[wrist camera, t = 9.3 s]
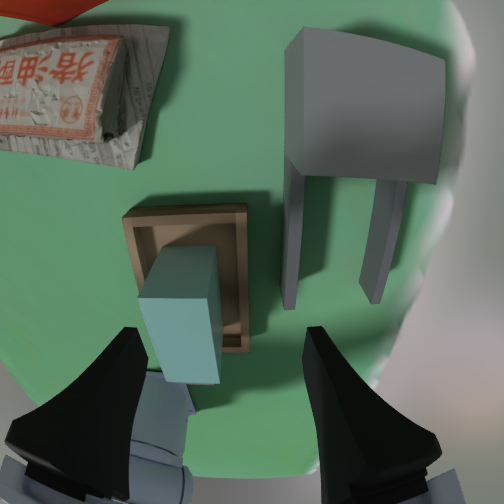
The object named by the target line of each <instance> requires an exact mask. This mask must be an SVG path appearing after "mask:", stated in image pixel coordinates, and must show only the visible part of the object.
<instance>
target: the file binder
mask: <svg viewBox="0 0 504 504" xmlns="http://www.w3.org/2000/svg"><path fill="white" fill-rule="evenodd" d="M106 1H108V0H0V16H4V17H11V18H16V19H22V20H27V21H32V22H37V23H41V24H45V25H49V26H53V27H57V26H59V25H60V24H64V23H66V22H67V21H69V20H71V19H73V18H74V17H76V16H78V15H80V14H82V13H84V12H86V11H87V10H89V9H91V8H93V7H95V6H97V5H100V4H102V3H104V2H106Z"/></svg>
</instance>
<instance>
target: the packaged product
mask: <svg viewBox="0 0 504 504" xmlns="http://www.w3.org/2000/svg"><path fill="white" fill-rule="evenodd" d="M169 34H170V28H169V27H168V26H152V25H141V24H123V25H90V26H77V27H68V28H58V29H52V30H48V31H45V32H36V33H30V34H25V35H21V36H18V37H13V38H8V39H4V40H1V41H0V150H3V151H13V152H21V153H26V154H36V155H44V156H52V157H58V158H66V159H71V160H76V161H82V162H89V163H94V164H100V165H106V166H113V167H118V168H123V169H127V170H134V169H135V168H136V166H137V165H138V161H139V158H140V153H141V148H142V143H143V138H144V133H145V128H146V123H147V118H148V113H149V109H150V106H151V102H152V98H153V94H154V91H155V87H156V84H157V80H158V77H159V74H160V70H161V67H162V64H163V61H164V57H165V53H166V48H167V44H168V39H169Z"/></svg>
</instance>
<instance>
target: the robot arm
mask: <svg viewBox="0 0 504 504" xmlns="http://www.w3.org/2000/svg"><path fill="white" fill-rule="evenodd" d="M302 363H303V371H304V379H305V383H306V388H307V392H308V396H309V400H310V404H311V408H312V412H313V416H314V420H315V426H316V431H317V440H318V449H319V460H320V473H321V499H322V500H321V501H322V504H466V503H465V500H464V497H463V493H462V490H461V486H460V483H459V480H458V477H457V474H456V471H455V469H452V470H450V471H447V472H446V473H443V474H441V475H439V476H436V477H434V478H432V479H430V480H428V481H426V479H425V476H426V475H427V474H428V473H427V470H426V467H427V466H429V465H430V464H432V463H433V462H434V461H436V460H437V459H438V458H439V457H440V456H441V455H442V450H441V447H440V444H439V442H438V440H437V438H436V436H435V434H434V433H431V432H430V431H428V430H426V429H424V428H423V427H421V426H419V425H417V424H415V423H414V422H412V421H411V420H409V419H408V418H406V417H405V416H403V415H402V414H400V413H399V412H398V411H397V410H395V409H394V408H393V407H391V406H390V405H389V404H388V403H386V402H385V401H384V400H383V399H382V398H381V397H380V396H379V395H377V394H376V393H375V392H374V391H373V390H372V389H371V388H370V387H369V386H368V385H367V384H366V383H365V382H364V381H363V379H362V378H361V377H360V376H359V375H358V374H357V373H356V372H355V370H354V369H353V368H352V367H351V366H350V364H349V363H348V362H347V360H346V359H345V358H344V357H343V355H342V354H341V353H340V351H339V350H338V349H337V347H336V346H335V344H334V343H333V341H332V340H331V339H330V337H329V336H328V334H327V332H326V331H325V329H324V328H323V327H322V326H316V327H307V332H306V338H305V344H304V350H303V356H302ZM147 365H148V356H147V353H146V351H145V348H144V346H143V343H142V340H141V338H140V335H139V332H138V329H137V328H134V327H124V328H123V329H122V330H121V331H120V332H119V334H118V335H117V336H116V337H115V338H114V339H113V340H112V341H111V343H110V344H109V345H108V346H107V347H106V348H105V350H104V351H103V352H102V353H101V354H100V355H99V356H98V357H97V358H96V360H95V361H94V362H93V363H92V364H91V365H90V366H89V367H88V368H87V369H86V370H85V371H84V372H83V373H82V374H81V375H80V376H79V377H78V378H77V379H76V380H75V381H74V382H72V383H71V384H70V385H69V386H68V387H67V388H65V389H64V390H63V391H62V392H60V393H59V394H58V395H56V396H55V397H53V398H52V399H51V400H49V401H48V402H46V403H45V404H43V405H42V406H40V407H38V408H37V409H35V410H33V411H31V412H30V413H28V414H25V415H23V416H21V417H19V418H17V419H15V420H13V421H12V424H11V426H10V428H9V431H8V433H7V436H6V439H5V444H6V445H7V446H8V447H9V448H10V449H11V450H13V451H14V452H15V453H17V454H18V455H19V456H20V457H22V458H23V459H25V460H26V461H27V462H28V464H27V466H25V465H24V464H22V463H20V462H18V461H16V460H15V459H13V458H11V457H9V456H8V455H5V457H4V460H3V463H2V466H1V470H0V499H2V500H3V501H4V502H6V503H7V504H123V503H119V502H116V501H113V500H111V499H115V500H118V501H121V502H125V503H128V504H191V500H192V496H193V476H192V473H191V472H190V470H189V468H188V467H187V466H184V465H182V464H183V458H181V457H182V456H183V454H184V450H185V441H186V432H187V423H188V416H195V415H196V411H195V408H194V405H193V402H192V399H191V396H190V393H189V390H188V387H187V384H179V382H167V381H166V379H165V377H164V374H163V372H151V371H147Z"/></svg>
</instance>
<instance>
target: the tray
mask: <svg viewBox="0 0 504 504" xmlns="http://www.w3.org/2000/svg"><path fill="white" fill-rule="evenodd" d="M122 223H123V228H124V232H125V237H126V242H127V246H128V250H129V255H130V259H131V263H132V267H133V271H134V275H135V279H136V282H137V286H138V290H139V293H140V291H141V289H142V287H143V285H144V282H145V280H146V278H147V276H148V274H149V272H150V270H151V268H152V266H153V264H154V262H155V260H156V258H157V256H158V254H159V252H160V250H161V248H162V247H171V246H210V245H216V252H217V264H218V275H219V286H220V297H221V307H222V317H223V326H224V329H223V343H222V353H241V352H250V337H249V293H248V246H247V203H227V204H198V205H177V206H159V207H143V208H131V209H130V210H129V211H128V212H127V213H126V214H125V215H124V216H123V217H122Z"/></svg>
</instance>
